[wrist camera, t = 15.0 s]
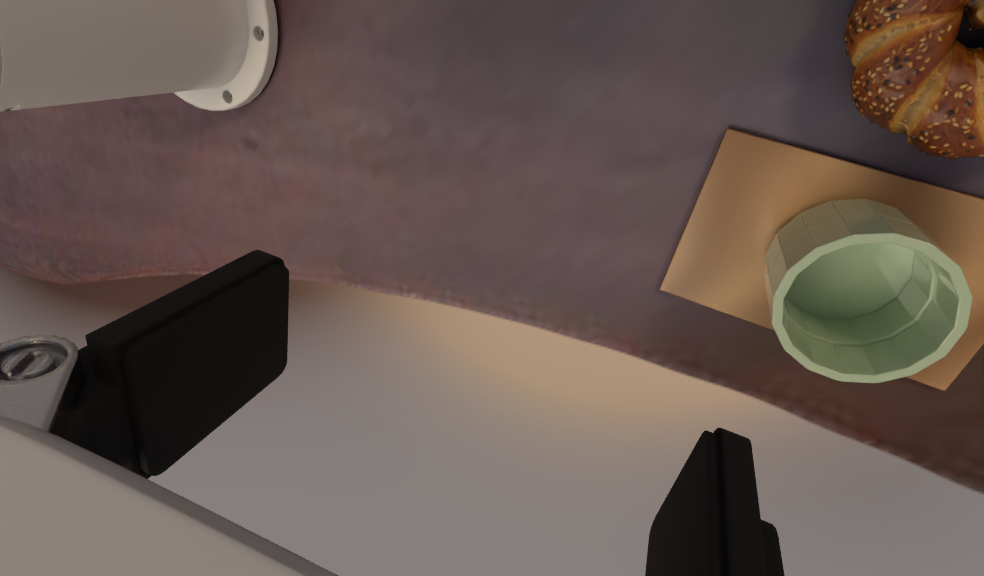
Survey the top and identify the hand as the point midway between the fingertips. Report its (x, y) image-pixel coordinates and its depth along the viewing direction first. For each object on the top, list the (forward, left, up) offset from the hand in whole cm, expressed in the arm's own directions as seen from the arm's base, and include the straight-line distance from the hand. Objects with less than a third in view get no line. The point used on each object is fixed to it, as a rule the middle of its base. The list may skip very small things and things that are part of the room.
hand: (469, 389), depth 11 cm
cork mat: (+12, -2, -23) cm, 26 cm away
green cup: (+12, -2, -23) cm, 26 cm away
